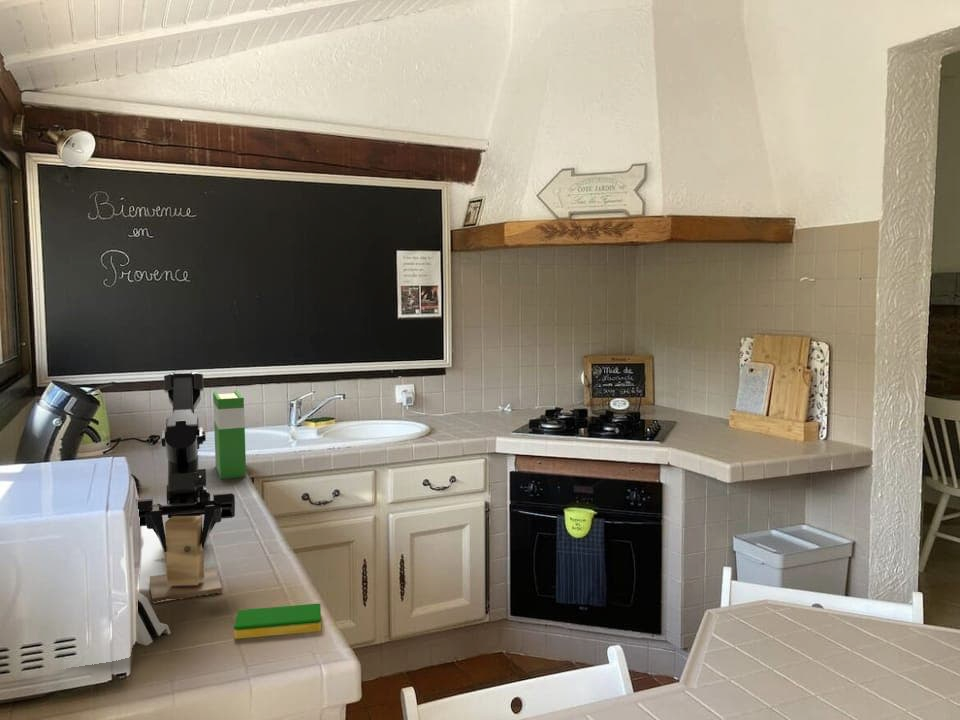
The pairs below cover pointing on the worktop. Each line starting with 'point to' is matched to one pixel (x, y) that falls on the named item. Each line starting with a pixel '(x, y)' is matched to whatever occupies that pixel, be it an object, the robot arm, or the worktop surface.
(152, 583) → the base board
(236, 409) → the carton
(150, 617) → the grey angled piece
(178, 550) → the wooden block
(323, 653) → the worktop surface
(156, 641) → the worktop surface
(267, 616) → the dish sponge
